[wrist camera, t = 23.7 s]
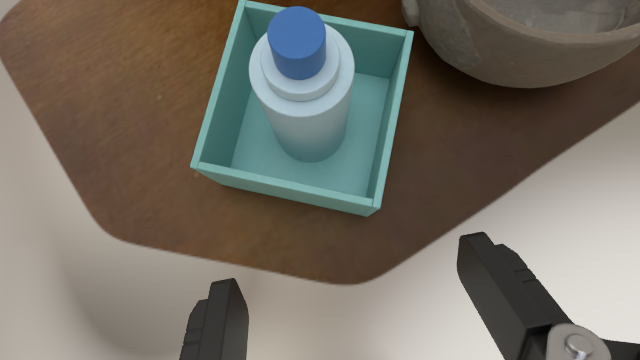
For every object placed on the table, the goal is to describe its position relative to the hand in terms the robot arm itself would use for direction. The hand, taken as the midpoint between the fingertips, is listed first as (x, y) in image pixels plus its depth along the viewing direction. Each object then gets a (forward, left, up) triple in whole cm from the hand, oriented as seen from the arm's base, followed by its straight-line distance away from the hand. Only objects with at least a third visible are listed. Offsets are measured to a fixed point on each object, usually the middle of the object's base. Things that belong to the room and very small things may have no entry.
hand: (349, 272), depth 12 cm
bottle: (-2, +10, -14) cm, 17 cm away
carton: (-2, +10, -15) cm, 18 cm away
